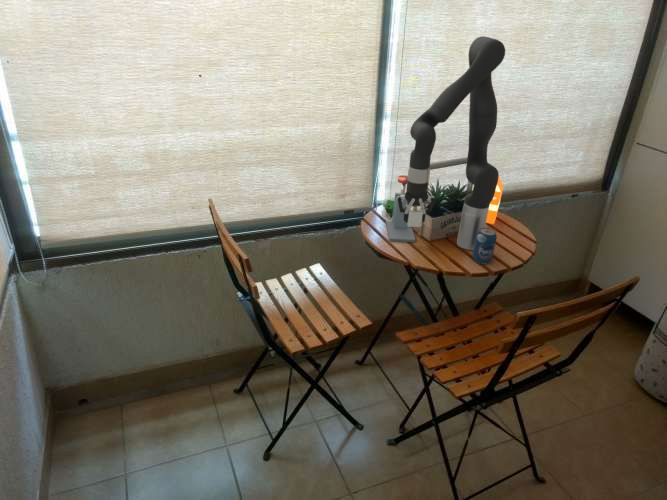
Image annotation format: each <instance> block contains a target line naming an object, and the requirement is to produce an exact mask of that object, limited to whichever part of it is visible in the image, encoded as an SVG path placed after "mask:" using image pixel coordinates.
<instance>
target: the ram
mask: <svg viewBox="0 0 667 500" xmlns="http://www.w3.org/2000/svg"><path fill="white" fill-rule="evenodd" d="M407 178H408V175H404V174H403V175H398V177H397V182H398V183H400V192H399V193H400V196H401V195H405V193H406V189H407Z"/></svg>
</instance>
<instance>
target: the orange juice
mask: <svg viewBox="0 0 667 500" xmlns="http://www.w3.org/2000/svg"><path fill="white" fill-rule="evenodd" d="M503 191H504V184H503V182H502V180H501V178H500V177H499V178H498V183H497V187H496V190H495V194H494V197H493V199H492V201H491V202H490V206H489V210H488V215H487V220H486V224H491V225H495V222H496V219H497V215H498V211H499V207H500V203H501V198H502V195H503Z"/></svg>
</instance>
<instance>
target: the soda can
mask: <svg viewBox="0 0 667 500" xmlns="http://www.w3.org/2000/svg"><path fill="white" fill-rule="evenodd" d="M497 236H498V235H497V231H496V230H495V229H493V228H490V227H487V228H481V229H480V231H479V232H478V233H477V237H476V242H475V247H474V250H472V251H473V252H472V259H473V260H474V262H476V263H477V262H478V264H480V263H481V264H480V265H487V263H488V264H489V263H490V262H491V261H492V260H493V256H494V251H495V247H496V243H497V239H498V237H497Z"/></svg>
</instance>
